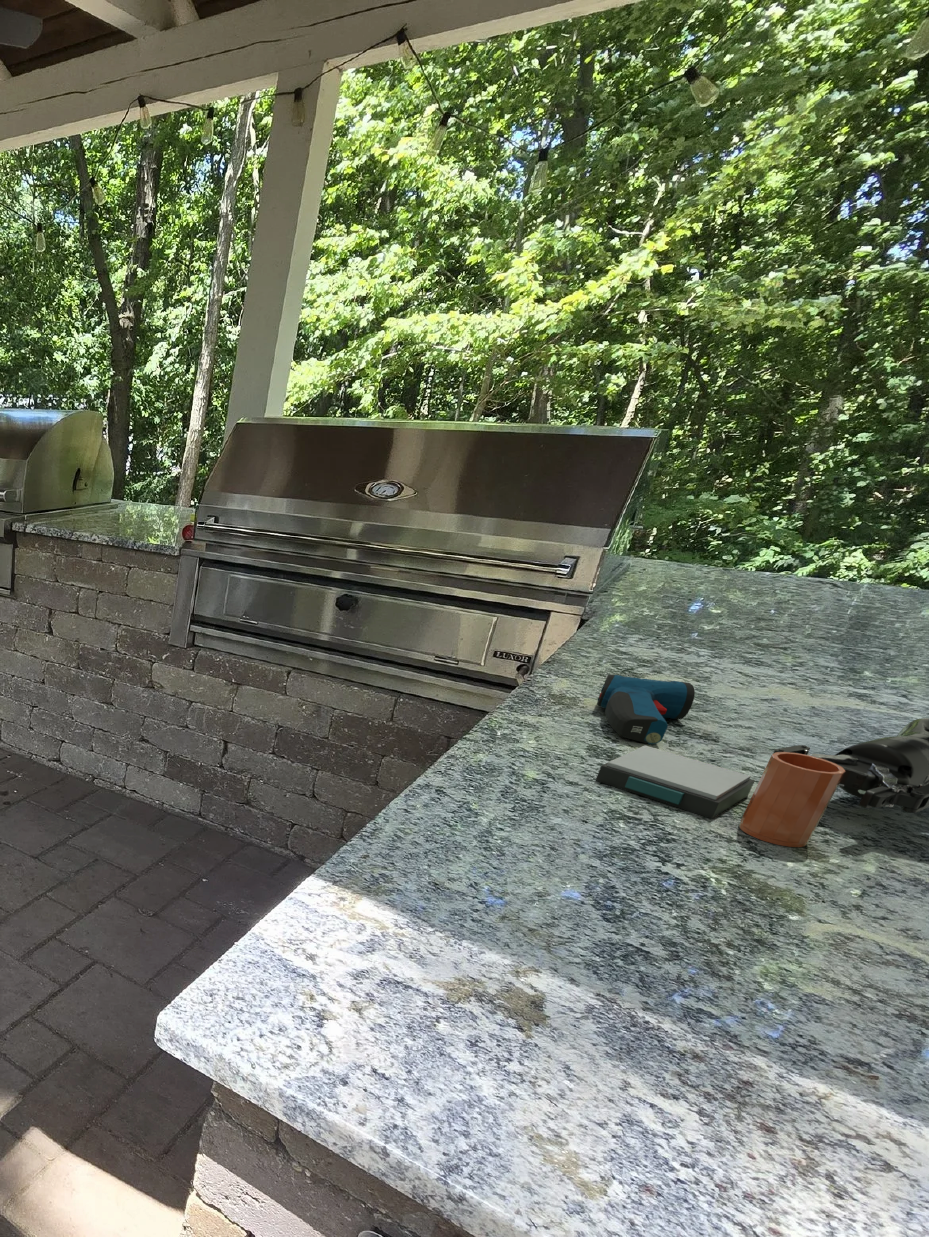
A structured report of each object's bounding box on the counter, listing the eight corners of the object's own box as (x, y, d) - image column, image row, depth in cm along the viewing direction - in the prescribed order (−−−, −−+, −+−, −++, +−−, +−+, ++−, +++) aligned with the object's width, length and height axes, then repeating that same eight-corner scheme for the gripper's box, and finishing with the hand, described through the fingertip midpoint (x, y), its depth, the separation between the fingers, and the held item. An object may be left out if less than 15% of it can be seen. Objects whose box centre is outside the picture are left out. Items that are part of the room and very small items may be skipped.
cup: (814, 839, 99) (852, 766, 95) (797, 852, 96) (836, 777, 92) (748, 818, 104) (782, 748, 100) (730, 830, 101) (764, 758, 97)
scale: (747, 795, 110) (757, 776, 109) (710, 819, 103) (719, 799, 102) (634, 761, 120) (641, 743, 119) (593, 781, 114) (601, 762, 112)
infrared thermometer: (731, 722, 120) (687, 677, 137) (623, 708, 126) (593, 666, 142) (713, 760, 123) (672, 711, 139) (609, 744, 128) (581, 699, 144)
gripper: (830, 721, 110) (761, 736, 104) (983, 762, 97) (914, 782, 92) (805, 770, 113) (737, 787, 107) (951, 816, 100) (883, 838, 95)
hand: (819, 785), depth 100 cm, fingers open, 8 cm apart
